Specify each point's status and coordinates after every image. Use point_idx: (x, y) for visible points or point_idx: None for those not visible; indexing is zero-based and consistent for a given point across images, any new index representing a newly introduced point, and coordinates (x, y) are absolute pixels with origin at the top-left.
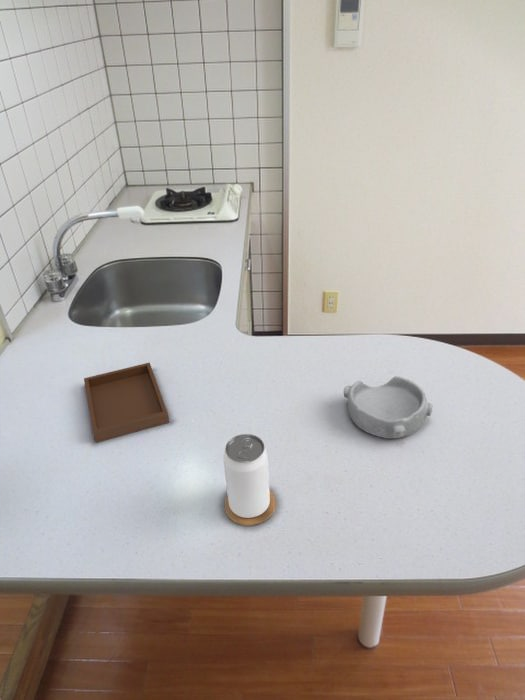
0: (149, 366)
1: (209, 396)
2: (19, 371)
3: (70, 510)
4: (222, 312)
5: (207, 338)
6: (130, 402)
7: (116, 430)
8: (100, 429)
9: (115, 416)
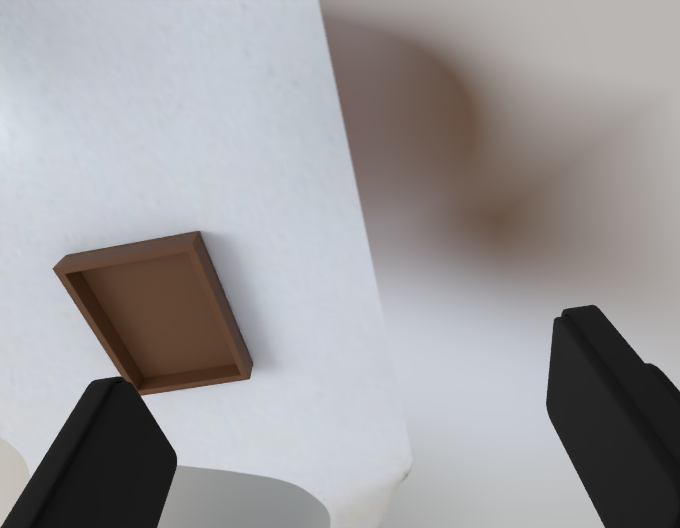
0: None
1: (6, 305)
2: (380, 415)
3: (203, 61)
4: None
5: None
6: (157, 315)
7: (153, 246)
8: (179, 250)
9: (176, 286)
